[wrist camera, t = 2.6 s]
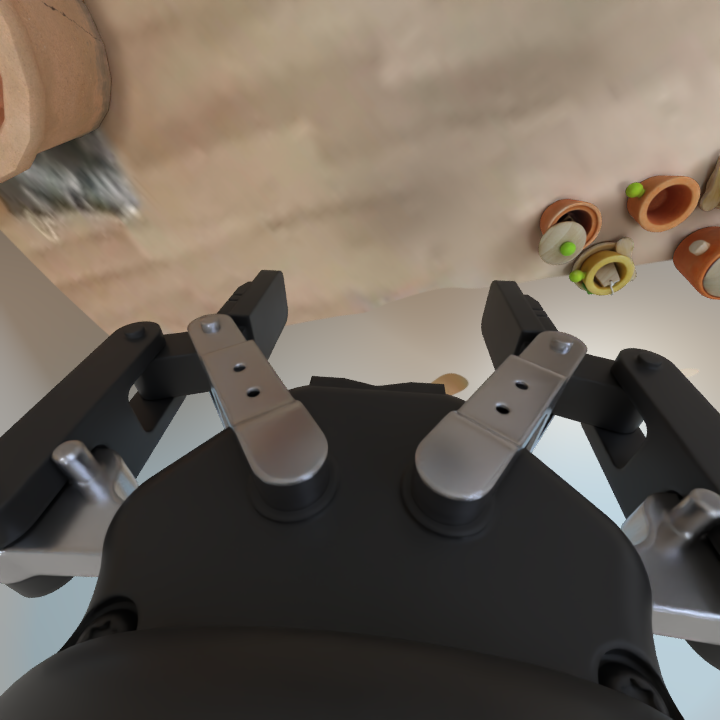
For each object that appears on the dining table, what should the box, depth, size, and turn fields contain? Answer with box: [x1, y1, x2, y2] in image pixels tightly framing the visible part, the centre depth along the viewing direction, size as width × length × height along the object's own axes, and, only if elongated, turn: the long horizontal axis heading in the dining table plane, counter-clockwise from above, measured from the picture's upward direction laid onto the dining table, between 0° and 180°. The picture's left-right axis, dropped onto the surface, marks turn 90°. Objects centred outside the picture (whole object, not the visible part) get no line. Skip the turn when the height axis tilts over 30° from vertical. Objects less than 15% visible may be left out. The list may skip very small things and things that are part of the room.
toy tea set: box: [538, 156, 720, 300], centre depth 39 cm, size 26×16×10 cm, turn 105°
